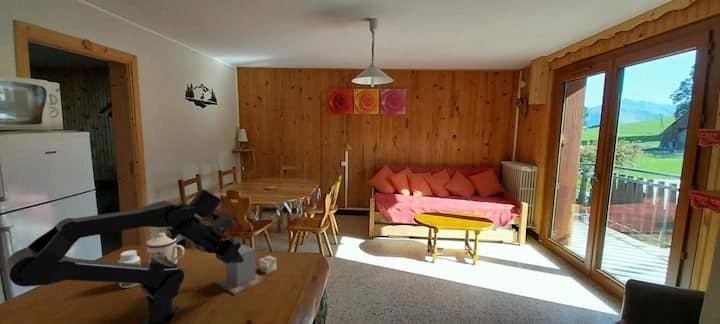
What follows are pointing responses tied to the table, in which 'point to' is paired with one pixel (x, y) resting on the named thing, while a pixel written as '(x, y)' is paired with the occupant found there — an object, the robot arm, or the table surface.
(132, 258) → the supplement bottle
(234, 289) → the light tan board
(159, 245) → the teacup with lid
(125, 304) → the table surface
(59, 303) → the table surface
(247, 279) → the sharp-edged grey box
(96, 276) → the robot arm
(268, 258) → the letter cube
